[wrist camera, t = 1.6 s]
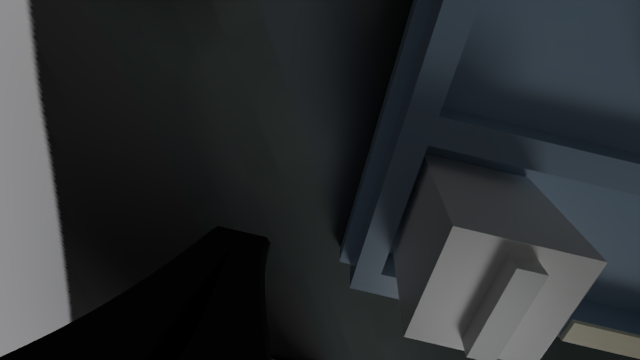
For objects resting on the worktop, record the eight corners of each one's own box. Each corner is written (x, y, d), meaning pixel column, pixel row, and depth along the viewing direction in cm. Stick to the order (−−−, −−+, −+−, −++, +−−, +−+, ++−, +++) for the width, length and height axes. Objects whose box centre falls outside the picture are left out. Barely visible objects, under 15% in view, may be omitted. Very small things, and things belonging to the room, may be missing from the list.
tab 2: (484, 262, 16) (543, 385, 11) (391, 240, 16) (406, 353, 11) (528, 177, 14) (622, 278, 9) (423, 152, 14) (458, 239, 9)
